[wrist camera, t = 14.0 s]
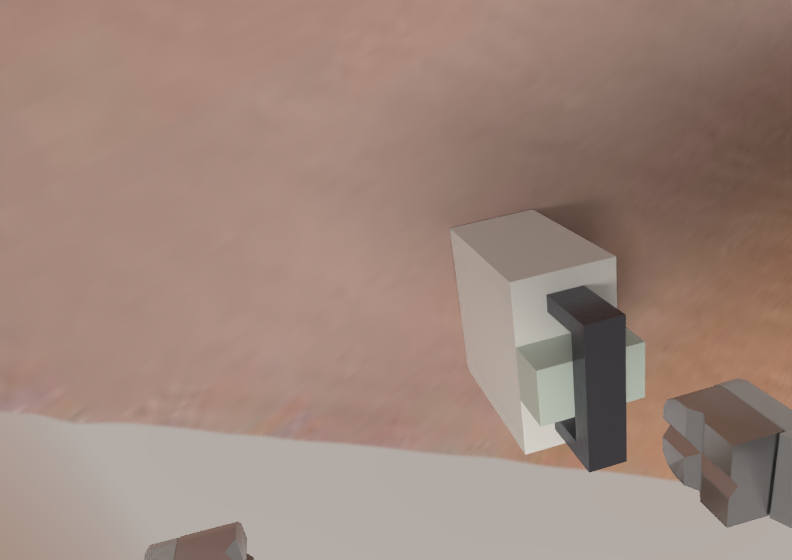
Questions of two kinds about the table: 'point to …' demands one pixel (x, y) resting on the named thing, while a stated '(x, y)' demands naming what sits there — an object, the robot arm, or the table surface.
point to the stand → (530, 318)
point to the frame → (594, 376)
